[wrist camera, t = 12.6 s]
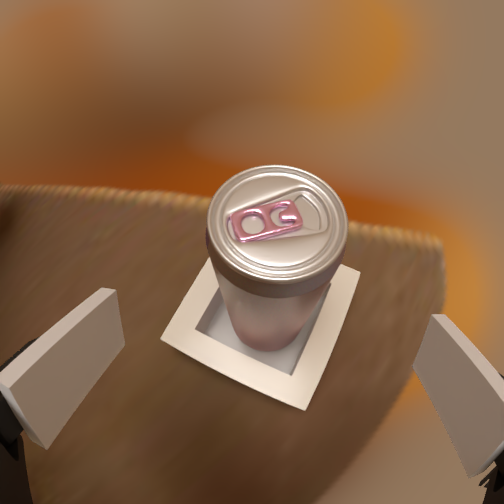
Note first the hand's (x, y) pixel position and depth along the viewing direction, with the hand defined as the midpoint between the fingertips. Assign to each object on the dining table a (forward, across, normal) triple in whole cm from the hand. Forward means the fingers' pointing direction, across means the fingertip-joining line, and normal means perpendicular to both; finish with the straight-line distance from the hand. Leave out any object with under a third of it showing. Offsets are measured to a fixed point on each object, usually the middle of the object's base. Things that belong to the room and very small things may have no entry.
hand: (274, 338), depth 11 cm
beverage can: (+12, 0, -6) cm, 14 cm away
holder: (+13, 0, -7) cm, 15 cm away
